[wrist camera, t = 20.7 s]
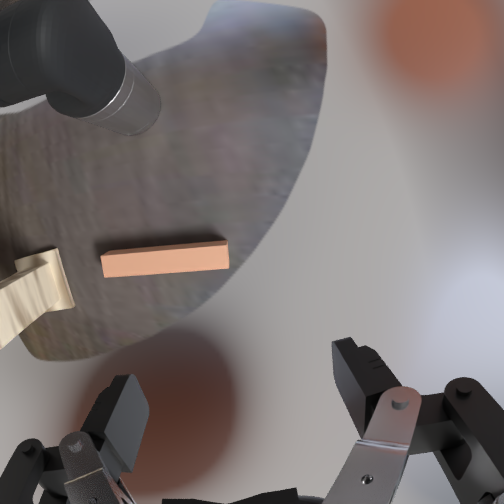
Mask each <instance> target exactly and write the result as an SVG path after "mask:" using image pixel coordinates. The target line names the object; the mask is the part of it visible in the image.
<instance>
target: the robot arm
mask: <svg viewBox="0 0 504 504" xmlns="http://www.w3.org/2000/svg"><path fill="white" fill-rule="evenodd" d="M44 94H46V97H47V100H48V102H49V104H50V105H51V106H52V107H53V108H54V109H55V110H56V111H58V112H59V113H61V114H64V115H67V116H70V117H73V118H76V119H79V120H82V121H85V122H88V123H91V124H94V125H97V126H100V127H103V128H106V129H108V130H111V131H114V132H117V133H120V134H123V135H129V136H132V135H137V134H140V133H142V132H144V131H146V130H147V129H149V128H150V127H151V126H152V125H153V124H154V122H155V121H156V119H157V117H158V115H159V112H160V108H161V101H160V96H159V94H158V92H157V91H156V89H155V88H154V87H153V86H152V85H151V84H150V82H149V81H148V80H147V79H146V78H145V77H144V76H143V75H142V74H141V73H140V72H139V71H138V69H137V68H136V67H135V66H134V65H133V64H132V63H131V62H130V61H129V60H128V59H127V58H126V57H125V56H124V55H123V54H122V53H121V51H120V50H119V49H118V47H117V45H116V42H115V40H114V38H113V36H112V34H111V32H110V30H109V29H108V27H107V26H106V25H105V23H104V22H103V21H102V20H101V18H100V17H99V15H98V14H97V13H96V11H95V10H94V8H93V7H92V5H91V4H90V2H89V1H88V0H19V1H17V2H15V3H13V4H12V5H10V6H8V7H6V8H4V9H3V10H0V107H6V106H10V105H14V104H16V103H19V102H22V101H25V100H28V99H31V98H34V97H37V96H41V95H44ZM332 358H333V373H334V379H335V383H336V386H337V388H338V390H339V392H340V395H341V397H342V399H343V401H344V403H345V405H346V407H347V409H348V412H349V413H350V416H351V418H352V420H353V422H354V424H355V427H356V428H357V431H358V433H359V435H360V437H361V439H362V440H357V442H356V443H355V445H354V447H353V448H352V450H351V452H350V454H349V456H348V458H347V460H346V462H345V464H344V466H343V468H342V470H341V471H340V473H339V475H338V477H337V479H336V480H335V482H334V484H333V486H332V487H331V489H330V491H329V493H328V494H327V496H326V498H325V499H324V498H320V497H314V496H298V494H297V489H296V488H291V489H285V490H280V491H273V492H267V493H261V494H258V495H255V496H253V497H249V498H246V499H243V500H240V501H236V502H233V503H229V504H392V502H393V499H394V496H395V494H396V491H397V489H398V486H399V483H400V481H401V478H402V475H403V472H404V469H405V466H406V463H407V460H408V457H409V455H413V454H420V453H427V452H433V453H434V455H435V456H436V458H437V460H438V462H439V464H440V465H441V467H442V469H443V471H444V473H445V475H446V477H447V479H448V481H449V482H450V484H451V486H452V488H453V490H454V492H455V494H456V496H457V498H458V499H459V502H460V504H504V410H503V409H502V408H501V406H500V405H499V404H498V403H497V402H496V401H495V400H494V399H493V397H492V396H491V395H490V394H489V393H488V392H487V391H486V390H485V389H484V387H483V386H482V385H481V384H480V383H479V382H478V381H476V380H474V379H472V378H467V377H462V378H456V379H454V380H452V381H450V382H449V383H448V384H447V385H446V387H445V390H444V393H438V394H432V395H420V394H419V393H418V392H417V391H416V390H415V389H413V388H410V387H405V386H402V385H401V383H400V382H399V381H398V379H396V377H395V375H394V374H393V373H392V372H391V370H390V369H389V368H388V367H387V366H386V364H385V362H384V361H383V360H381V357H380V356H379V355H378V353H377V352H376V351H375V350H373V349H371V348H370V347H368V346H361V347H358V346H357V345H356V344H355V342H354V341H353V339H352V338H351V337H348V338H344V339H340V340H336V341H332ZM148 417H149V406H148V403H147V400H146V398H145V396H144V394H143V392H142V389H141V387H140V385H139V383H138V381H137V378H136V377H135V375H133V374H126V375H116V376H115V378H114V379H113V381H112V383H111V385H110V387H107V388H106V389H105V390H103V391H102V392H101V393H100V394H99V396H98V398H97V399H96V401H95V404H94V405H93V407H92V411H90V412H89V414H88V416H87V418H86V420H85V422H84V424H83V426H82V428H81V430H80V431H77V432H73V433H70V434H68V435H67V436H65V437H64V438H63V439H62V440H61V442H60V444H59V446H56V447H49V448H45V447H44V446H43V445H42V443H41V442H40V441H39V440H38V439H27V440H25V441H23V442H22V443H20V444H19V445H18V446H17V448H16V450H15V452H14V453H13V455H12V457H11V459H10V460H9V462H8V464H7V466H6V468H5V470H4V472H3V474H2V475H1V477H0V504H33V499H32V498H33V494H34V492H35V489H36V487H37V485H38V483H39V484H40V485H41V487H42V488H44V491H43V494H42V496H41V499H40V502H39V504H136V502H135V501H134V499H133V498H132V496H131V494H130V493H129V491H128V489H127V488H126V486H125V485H124V483H123V481H122V480H121V478H120V473H121V472H130V473H131V472H132V471H133V468H134V464H135V461H136V457H137V454H138V450H139V447H140V443H141V440H142V436H143V433H144V430H145V427H146V423H147V420H148ZM162 504H222V503H215V502H208V501H202V500H197V499H162Z"/></svg>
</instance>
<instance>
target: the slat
mask: <svg viewBox="0 0 504 504" xmlns="http://www.w3.org/2000/svg"><path fill="white" fill-rule="evenodd" d="M101 261H102V267H103V272H104V277H120V276H134V275H148V274H162V273H175V272H188V271H201V270H214V269H227V268H229V253H228V242H227V240H224V241H212V242H200V243H188V244H177V245H166V246H155V247H144V248H133V249H122V250H112V251H108V252H106V253H105V254H103V255H102V256H101Z"/></svg>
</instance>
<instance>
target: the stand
mask: <svg viewBox="0 0 504 504" xmlns="http://www.w3.org/2000/svg"><path fill="white" fill-rule="evenodd" d="M14 262H15V265H16V269H17V273H15V274H13V275H12V276H10V277H8V278H6V279H4V280H2V281H0V350H1V349H2V348H3V347H4V346H5V345H6V344H7V343H9V342H10V341H11V340H12V339H13V338H14V337H15V336H17V335H18V334H19V333H20V332H21V331H23V330H24V329H25V328H26V327H27V326H28V325H30V324H31V323H32V322H33V321H34V320H36V319H37V318H38V317H39V316H40V315H42V314H43V313H44V312H49V311H56V310H62V309H68V308H73V307H74V306H75V303H74V300H73V298H72V295H71V292H70V289H69V286H68V282H67V279H66V276H65V273H64V269H63V266H62V263H61V259H60V256H59V252H58V248H56V249H52V250H49V251H45V252H41V253H38V254H34V255H31V256H27V257H24V258H20V259H17V260H15V261H14Z"/></svg>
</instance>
